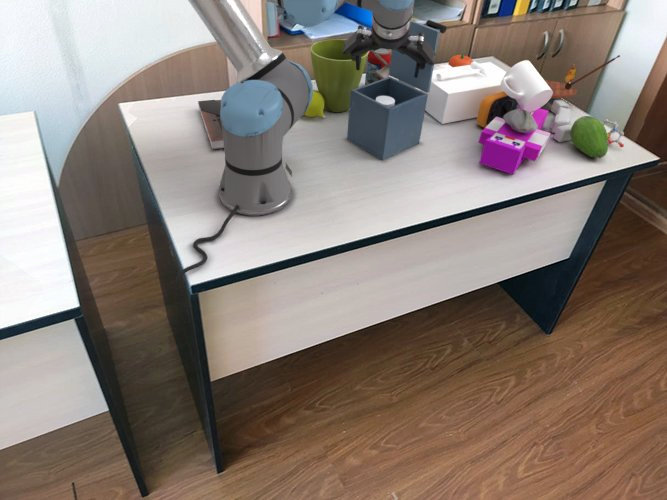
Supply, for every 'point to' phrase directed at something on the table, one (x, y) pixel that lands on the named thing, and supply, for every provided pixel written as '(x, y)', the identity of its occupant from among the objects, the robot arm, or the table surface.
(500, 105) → the multimeter
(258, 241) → the table surface
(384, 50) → the beverage can
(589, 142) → the avocado
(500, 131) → the toy
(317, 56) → the flower pot
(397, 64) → the lid
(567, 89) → the incense holder
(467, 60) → the pumpkin
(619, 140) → the molecular model
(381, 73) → the wall hook
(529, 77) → the mug
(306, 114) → the yellow-green teardrop shape
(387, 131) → the blue-grey hollow box
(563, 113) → the grey segmented bar
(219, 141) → the picture frame
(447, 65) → the geometric ball
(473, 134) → the table surface
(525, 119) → the grey rock
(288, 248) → the table surface
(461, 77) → the tissue box
